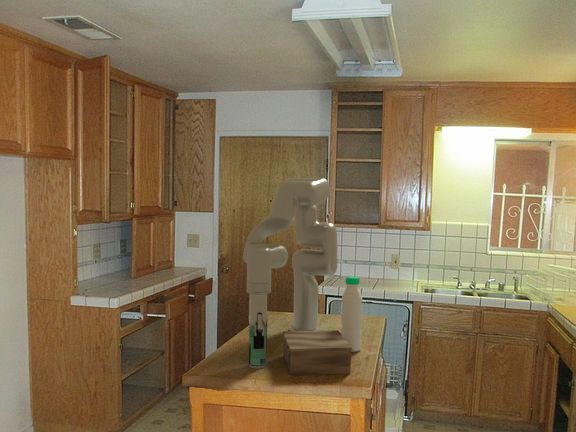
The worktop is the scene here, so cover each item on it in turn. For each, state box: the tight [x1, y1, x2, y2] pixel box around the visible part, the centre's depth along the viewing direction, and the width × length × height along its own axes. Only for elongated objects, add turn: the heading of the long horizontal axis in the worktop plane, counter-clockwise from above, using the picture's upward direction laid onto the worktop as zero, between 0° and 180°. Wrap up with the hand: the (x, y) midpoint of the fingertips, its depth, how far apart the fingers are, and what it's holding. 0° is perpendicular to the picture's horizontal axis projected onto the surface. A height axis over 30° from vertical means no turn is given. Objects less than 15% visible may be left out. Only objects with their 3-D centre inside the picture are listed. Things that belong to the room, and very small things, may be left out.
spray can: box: [248, 317, 268, 370], centre depth 155 cm, size 6×6×20 cm
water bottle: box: [340, 275, 363, 353], centre depth 173 cm, size 7×7×25 cm
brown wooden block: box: [282, 329, 352, 376], centre depth 158 cm, size 19×19×8 cm
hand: (258, 344), depth 155 cm, fingers closed on spray can, 5 cm apart
